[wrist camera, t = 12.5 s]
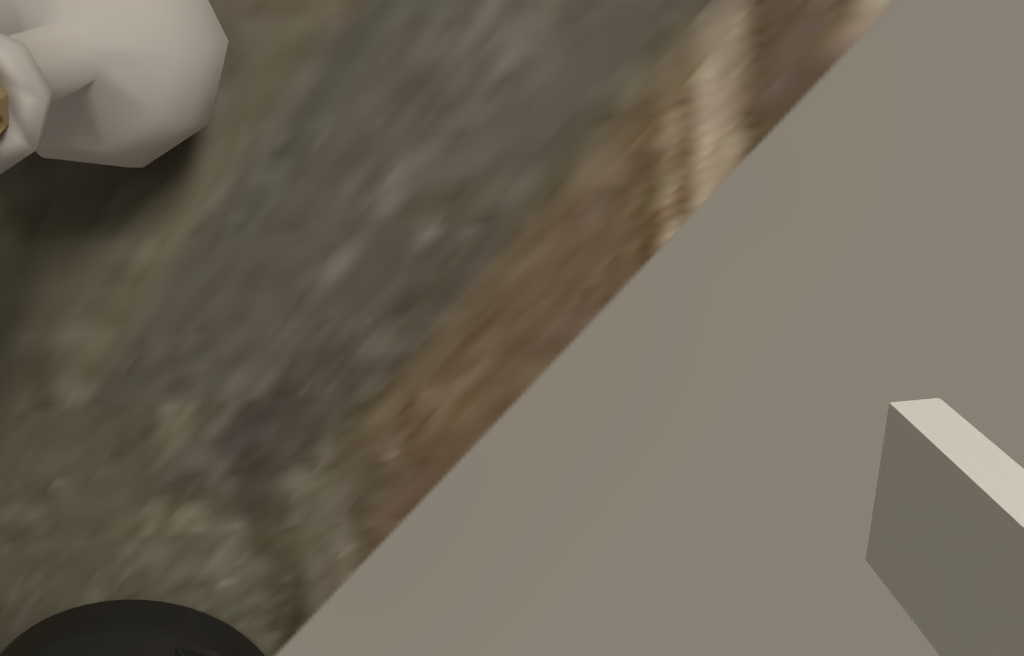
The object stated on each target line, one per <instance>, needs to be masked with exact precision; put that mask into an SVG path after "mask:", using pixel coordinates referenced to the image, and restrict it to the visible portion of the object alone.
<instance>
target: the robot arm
mask: <svg viewBox="0 0 1024 656" xmlns="http://www.w3.org/2000/svg"><path fill="white" fill-rule="evenodd" d="M866 561H867V562H868V563H869V565H870V566H871V567H872V568H873V570H874V571H875V572H876V574H877V575H878V576H879V578H880V579H881V580H882V581H883V583H884V584H885V585H886V586H887V588H888V589H889V591H890V592H891V593H892V594H893V596H894V597H895V598H896V600H897V601H898V602H899V604H900V605H901V606H902V607H903V609H904V610H905V611H906V613H907V614H908V615H909V616H910V618H911V619H912V620H913V622H914V623H915V624H916V625H917V627H918V628H919V629H920V630H921V632H922V633H923V634H924V636H925V637H926V638H927V640H928V641H929V642H930V644H931V645H932V646H933V648H934V649H935V650H936V651H937V652H938V654H939V655H940V656H1024V469H1023V468H1022V467H1021V466H1020V465H1018V464H1017V463H1016V462H1015V461H1013V460H1012V459H1011V458H1010V457H1009V456H1008V455H1006V454H1005V453H1004V452H1003V451H1002V450H1001V449H999V448H998V447H997V446H996V445H995V444H993V443H992V442H991V441H990V440H988V439H987V438H986V437H985V436H984V435H982V434H981V433H980V432H979V431H978V430H976V428H974V427H973V426H972V425H971V424H970V423H968V422H967V421H966V420H965V419H964V418H962V417H961V416H960V415H959V414H958V413H956V412H955V411H954V410H953V409H952V408H950V407H949V406H948V405H947V404H946V403H945V402H943V401H942V400H941V399H939V398H936V399H924V400H915V401H914V400H913V401H902V402H891V403H889V409H888V415H887V422H886V428H885V435H884V441H883V449H882V455H881V461H880V468H879V475H878V481H877V488H876V495H875V501H874V508H873V514H872V521H871V528H870V534H869V541H868V547H867V555H866ZM0 656H265V655H264V654H263V653H262V652H261V651H260V650H259V649H258V648H257V646H255V645H254V644H253V643H252V642H251V641H250V640H249V639H248V638H246V637H245V636H244V635H243V634H241V633H240V632H239V631H237V630H236V629H234V628H233V627H231V626H229V625H228V624H226V623H224V622H222V621H220V620H218V619H216V618H214V617H212V616H210V615H207V614H205V613H202V612H200V611H197V610H194V609H191V608H187V607H184V606H179V605H175V604H170V603H164V602H158V601H148V600H116V601H106V602H98V603H93V604H88V605H84V606H80V607H76V608H73V609H70V610H67V611H64V612H61V613H59V614H56V615H53V616H51V617H49V618H47V619H45V620H43V621H41V622H39V623H38V624H36V625H34V626H33V627H31V628H30V629H28V630H27V631H25V632H24V633H22V634H21V635H20V636H19V637H17V638H16V639H15V640H14V641H13V642H12V643H11V644H10V645H9V646H8V647H7V648H6V649H5V650H4V651H3V652H2V653H1V655H0Z"/></svg>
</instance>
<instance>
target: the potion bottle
mask: <svg viewBox="0 0 1024 656" xmlns="http://www.w3.org/2000/svg"><path fill="white" fill-rule="evenodd" d="M228 42H229V41H228V39H227V37H226V35H225V33H224V31H223V29H222V27H221V25H220V23H219V21H218V19H217V17H216V15H215V13H214V11H213V9H212V7H211V5H210V3H209V1H208V0H0V174H2V173H3V172H5V171H6V170H8V169H9V168H11V167H12V166H14V165H15V164H17V163H18V162H20V161H21V160H23V159H24V158H25V157H27V156H28V155H30V154H31V153H33V152H34V151H35V152H36V153H38V154H39V155H40V156H41V157H42V158H50V159H59V160H68V161H76V162H85V163H94V164H102V165H111V166H120V167H136V168H143V167H145V166H146V165H148V164H149V163H151V162H152V161H154V160H155V159H157V158H158V157H160V156H161V155H163V154H164V153H166V152H167V151H169V150H170V149H172V148H173V147H175V146H176V145H178V144H179V143H181V142H182V141H184V140H185V139H187V138H189V137H190V136H192V135H193V134H195V133H196V132H198V131H199V130H201V129H202V128H204V127H205V126H207V125H208V124H210V122H211V117H212V113H213V108H214V104H215V99H216V95H217V90H218V86H219V82H220V77H221V73H222V68H223V64H224V59H225V55H226V51H227V46H228Z"/></svg>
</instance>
